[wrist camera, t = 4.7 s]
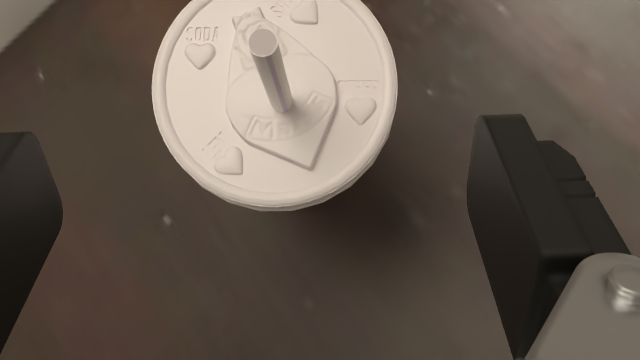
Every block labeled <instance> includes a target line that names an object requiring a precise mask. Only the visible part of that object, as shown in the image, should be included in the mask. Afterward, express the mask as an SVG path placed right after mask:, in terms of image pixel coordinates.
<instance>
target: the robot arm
mask: <svg viewBox="0 0 640 360" xmlns="http://www.w3.org/2000/svg"><path fill="white" fill-rule="evenodd" d="M467 206H468V213H469V217H470V221H471V224H472V227H473V230H474V234H475V237H476V240H477V243H478V247H479V250H480V253H481V256H482V259H483V263H484V266H485V269H486V272H487V276H488V279H489V282H490V285H491V288H492V292H493V295H494V298H495V301H496V305H497V308H498V311H499V314H500V318H501V321H502V324H503V327H504V330H505V334H506V337H507V340H508V343H509V347H510V350H511V353H512V356H513V359H514V360H640V258H639V257H636V256H633V255H631V253H630V251H629V249H628V248H627V246H626V244H625V243H624V241H623V239H622V238H621V236H620V234H619V232H618V231H617V229H616V227H615V226H614V224H613V222H612V220H611V219H610V217H609V215H608V214H607V212H606V210H605V208H604V207H603V205H602V203H601V202H600V200H599V198H598V197H595V191H594V190H593V188H592V186H591V185H590V183H589V181H586V176H585V174H584V173H583V171H582V169H581V168H580V166H579V164H578V162H577V161H576V159H575V157H574V156H572V155H571V154H570V153H568V152H567V151H566V150H564V149H563V148H562V147H561V146H559V145H558V144H557V143H555V142H554V141H553V140H551V141H537V140H536V138H535V136H534V134H533V132H532V130H531V128H530V127H529V125H528V123H527V121H526V119H525V117H524V116H523V115H522V114H506V115H481V116H479V117H478V118H477V121H476V124H475V130H474V138H473V145H472V152H471V160H470V167H469V174H468V182H467ZM62 218H63V209H62V202H61V198H60V195H59V193H58V190H57V187H56V185H55V182H54V180H53V177H52V174H51V172H50V169H49V166H48V164H47V161H46V159H45V156H44V153H43V151H42V148H41V146H40V143H39V141H38V139H37V138H36V136H35V135H34V134H32V133H31V132H11V133H0V353H1V351H2V349H3V347H4V345H5V343H6V341H7V339H8V337H9V335H10V333H11V331H12V329H13V327H14V324H15V322H16V320H17V318H18V316H19V314H20V312H21V310H22V308H23V306H24V304H25V302H26V300H27V298H28V296H29V293H30V291H31V289H32V287H33V285H34V283H35V281H36V279H37V277H38V275H39V273H40V271H41V269H42V267H43V264H44V262H45V260H46V258H47V256H48V254H49V252H50V250H51V248H52V246H53V244H54V242H55V240H56V238H57V236H58V233H59V231H60V229H61V225H62Z"/></svg>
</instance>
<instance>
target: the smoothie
mask: <svg viewBox="0 0 640 360" xmlns="http://www.w3.org/2000/svg"><path fill="white" fill-rule="evenodd" d="M152 100H153V108H154V113H155V118H156V121H157V124H158V127H159V130H160V133H161V135H162V137H163V140H164V142H165V144H166V145H167V147H168V149H169V151H170V152H171V154H172V155H173V156H174V158H175V159H176V161H177V162H178V163H179V164H180V165H181V166H182V168H183V169H184V170H185V171H186V172H187V173H188V174H189V175H191V176H192V177H193V178H194V179H195V180H196V181H197V182H198V184H199V185H200V186H201V187H203V188H204V189H206V190H208V191H210V192H211V193H213V194H215V195H216V196H218V197H220V198H222V199H223V200H225V201H227V202H228V203H231V204H235V205H239V206H243V207H246V208H250V209H254V210H258V211H294V210H298V209H301V208H305V207H309V206H312V205H316V204H320V203H323V202H325V201H327V200H328V199H330V198H332V197H334V196H335V195H337V194H339V193H340V192H342V191H344V190H346V189H347V188H349V187H351V186H352V185H353V184H354V183H355V182H356V181H357V180H358V179H359V178H360V177H361V176H362V175H363V174H364V173H365V172H366V171H367V170H368V169H369V168H370V167H371V166H372V165H373V163H374V161H375V160H376V158H377V156H378V154H379V153H380V151H381V149H382V147H383V146H384V144H385V142H386V141H387V139H388V137H389V133H390V129H391V125H392V121H393V117H394V114H395V110H396V100H397V71H396V65H395V60H394V56H393V52H392V49H391V46H390V44H389V41H388V39H387V37H386V35H385V33H384V31H383V29H382V27H381V25H380V24H379V22H378V21H377V19H376V18H375V17H374V15H373V14H372V13H371V11H370V10H369V9H368V8H367V7H366V6H365V5H364V4H363V3H362V2H361V1H360V0H192V1H191V2H190V3H189V4H188V5H187V6H186V7H185V8H184V9H183V10H182V11H181V12H180V14H179V15H178V16H177V17H176V19H175V20H174V22H173V23H172V25H171V26H170V28H169V29H168V31H167V33H166V35H165V37H164V39H163V41H162V43H161V46H160V48H159V51H158V54H157V57H156V61H155V66H154V71H153V79H152Z"/></svg>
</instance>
